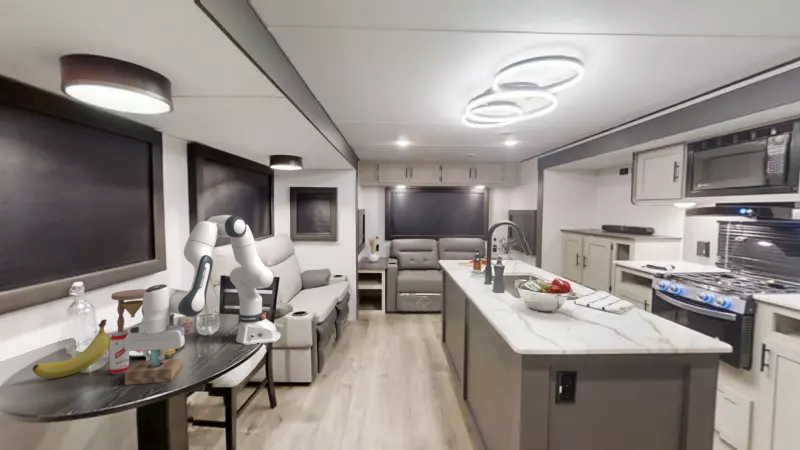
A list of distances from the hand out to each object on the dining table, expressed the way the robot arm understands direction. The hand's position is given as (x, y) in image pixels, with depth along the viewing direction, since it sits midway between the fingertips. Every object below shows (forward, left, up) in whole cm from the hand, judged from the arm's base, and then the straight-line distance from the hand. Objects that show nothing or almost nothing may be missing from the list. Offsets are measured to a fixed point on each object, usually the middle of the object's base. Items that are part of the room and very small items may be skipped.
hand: (155, 360), depth 134 cm
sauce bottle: (+5, -22, -7) cm, 24 cm away
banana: (+34, -9, -7) cm, 36 cm away
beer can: (+17, -8, -7) cm, 20 cm away
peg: (0, 0, -5) cm, 5 cm away
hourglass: (+33, -49, -7) cm, 60 cm away
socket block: (0, 0, -7) cm, 7 cm away
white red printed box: (+10, -54, -7) cm, 55 cm away
